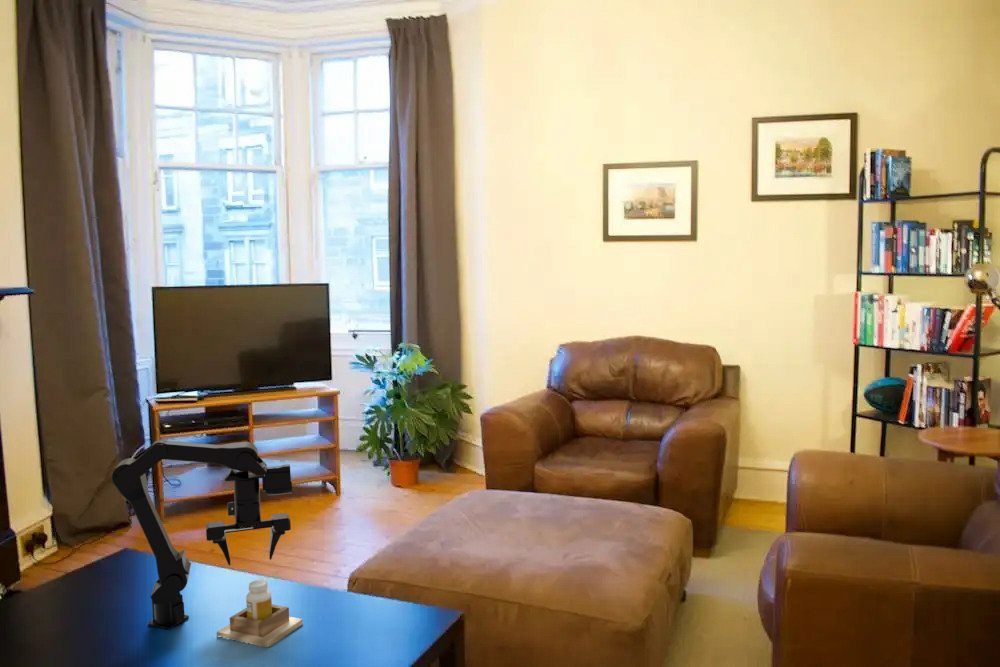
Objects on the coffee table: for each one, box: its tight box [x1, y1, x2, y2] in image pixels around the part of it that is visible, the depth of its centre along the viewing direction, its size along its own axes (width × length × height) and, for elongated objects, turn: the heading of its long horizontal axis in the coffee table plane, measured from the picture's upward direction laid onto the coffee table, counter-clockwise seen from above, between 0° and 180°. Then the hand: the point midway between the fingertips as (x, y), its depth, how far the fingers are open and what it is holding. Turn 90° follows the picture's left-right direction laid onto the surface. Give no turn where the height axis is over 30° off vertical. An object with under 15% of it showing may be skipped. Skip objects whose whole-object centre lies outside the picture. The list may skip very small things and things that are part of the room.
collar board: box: [216, 603, 304, 648], centre depth 180 cm, size 14×12×4 cm
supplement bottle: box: [245, 579, 273, 621], centre depth 180 cm, size 5×5×10 cm
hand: (250, 561), depth 189 cm, fingers open, 9 cm apart
